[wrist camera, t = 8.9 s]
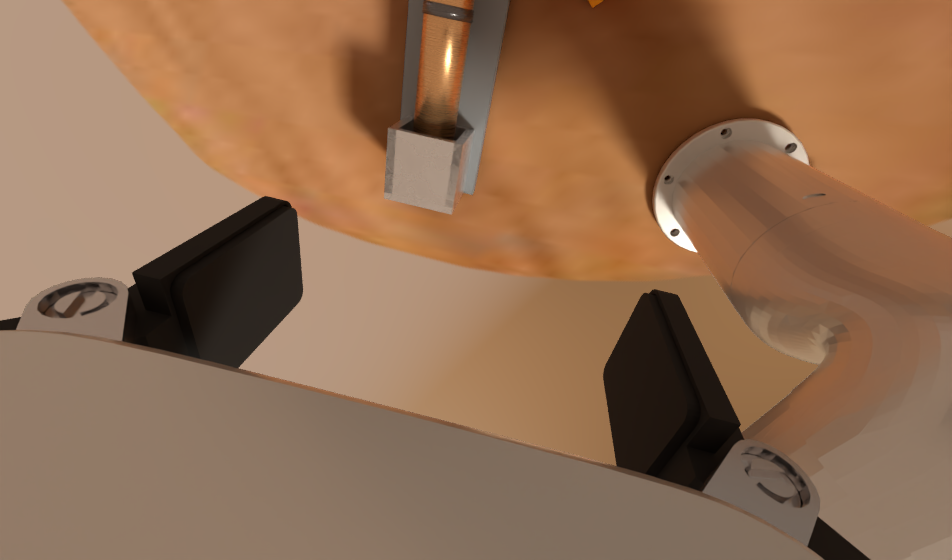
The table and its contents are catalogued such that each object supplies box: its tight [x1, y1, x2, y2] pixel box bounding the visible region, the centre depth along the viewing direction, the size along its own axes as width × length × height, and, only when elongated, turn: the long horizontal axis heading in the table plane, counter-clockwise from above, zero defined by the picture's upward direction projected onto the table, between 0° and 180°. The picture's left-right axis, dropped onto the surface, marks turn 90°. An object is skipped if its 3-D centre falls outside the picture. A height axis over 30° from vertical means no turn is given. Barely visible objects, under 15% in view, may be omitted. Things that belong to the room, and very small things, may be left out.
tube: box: [413, 0, 474, 140], centre depth 30 cm, size 4×16×4 cm, turn 170°
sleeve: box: [384, 115, 475, 214], centre depth 36 cm, size 6×6×6 cm
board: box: [400, 0, 510, 195], centre depth 34 cm, size 8×24×1 cm, turn 170°
